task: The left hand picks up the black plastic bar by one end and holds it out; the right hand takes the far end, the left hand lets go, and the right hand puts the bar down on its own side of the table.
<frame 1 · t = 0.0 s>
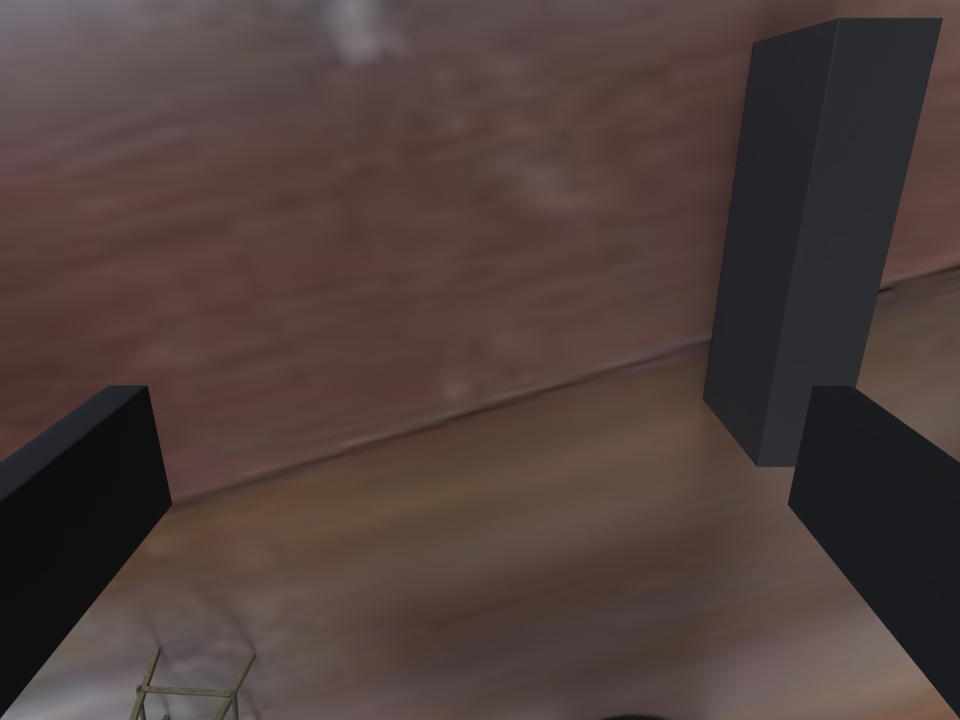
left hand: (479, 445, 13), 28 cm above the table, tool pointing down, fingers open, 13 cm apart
miniature windmill: (210, 684, 52), on the table
bar: (761, 239, 39), on the table
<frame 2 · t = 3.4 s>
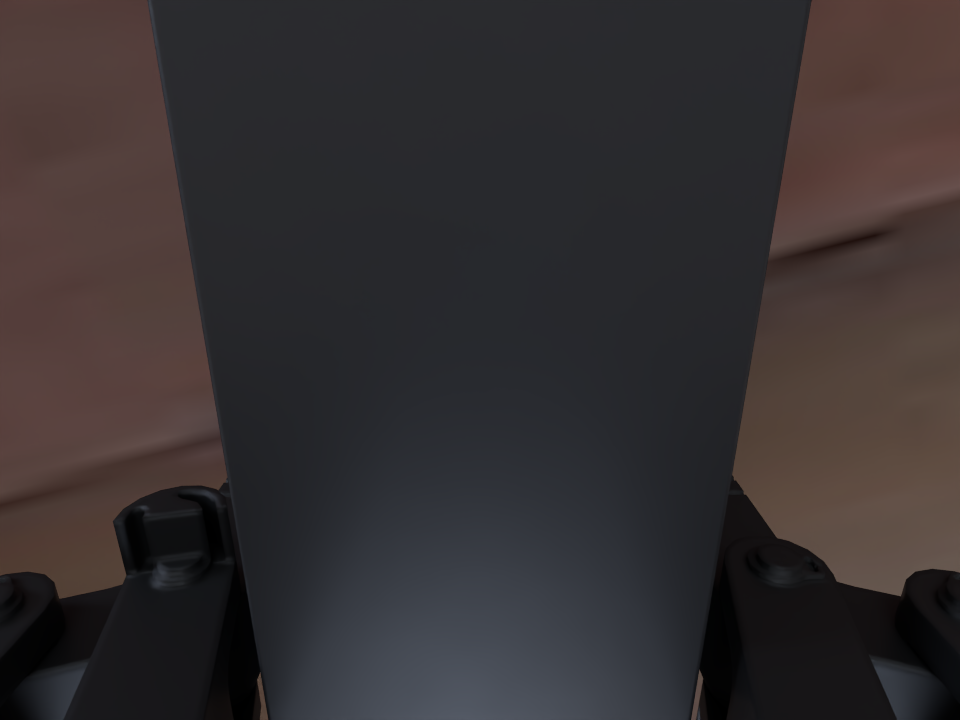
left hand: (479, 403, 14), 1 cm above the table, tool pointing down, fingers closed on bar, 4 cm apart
bar: (479, 74, 12), on the table, touching left hand
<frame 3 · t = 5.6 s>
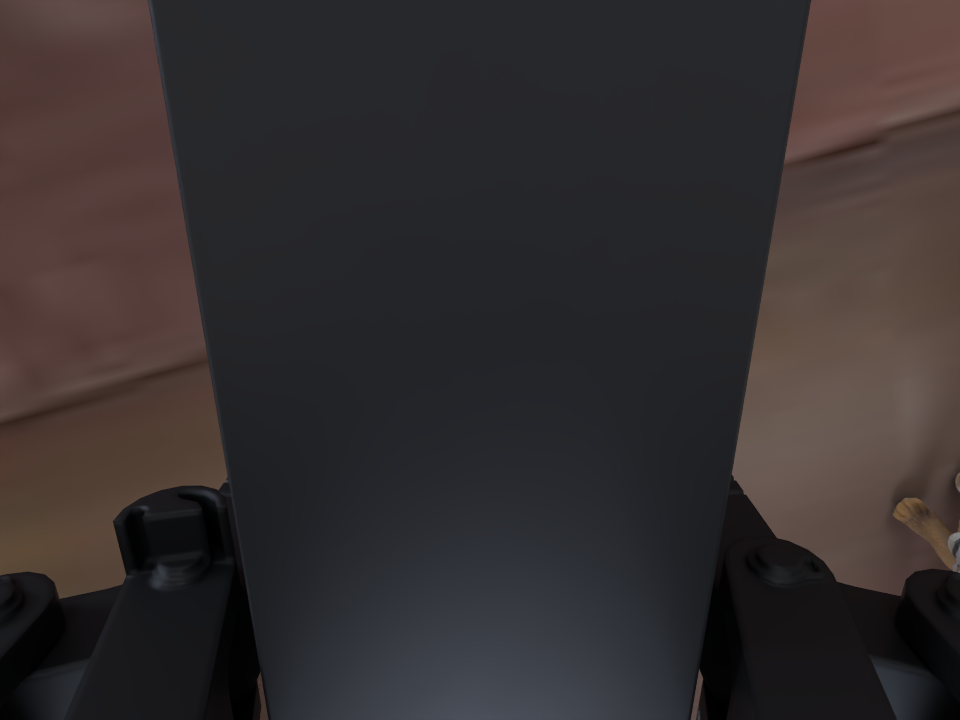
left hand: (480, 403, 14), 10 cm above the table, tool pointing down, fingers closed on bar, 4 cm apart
lion figurine: (927, 545, 27), on the table
bar: (479, 73, 12), point 9 cm above the table, touching left hand
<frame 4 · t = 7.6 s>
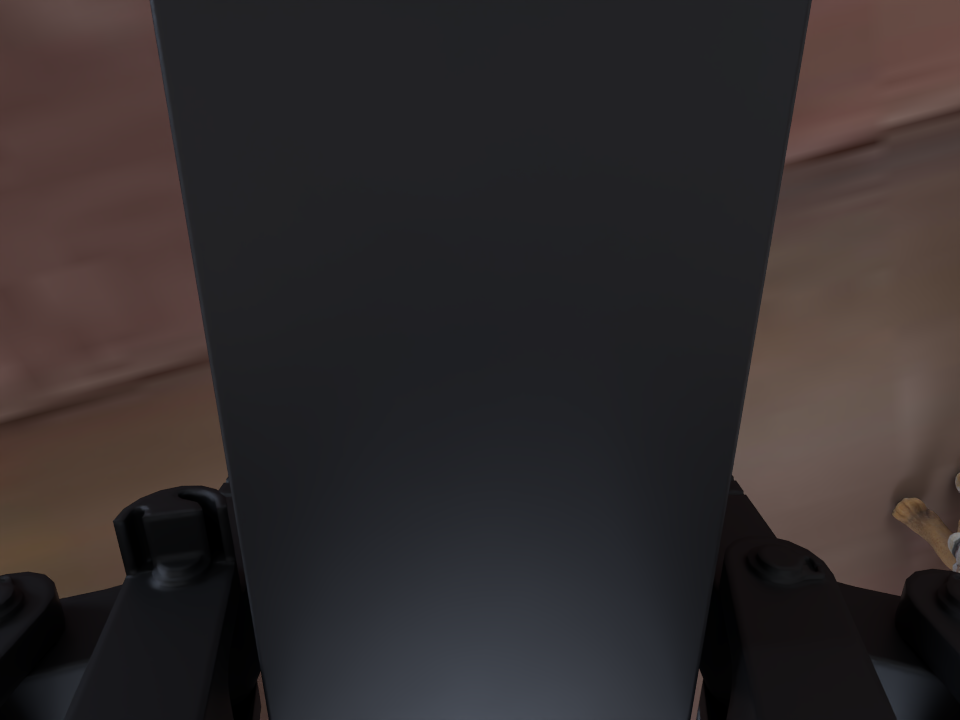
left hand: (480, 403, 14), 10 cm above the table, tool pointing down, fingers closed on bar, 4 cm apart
lion figurine: (927, 545, 27), on the table
bar: (480, 73, 12), point 9 cm above the table, touching left hand, right hand
when the left hand's fingers open (10 cm above the table, at t = 8.2 s): bar stays where it is, held by the right hand.
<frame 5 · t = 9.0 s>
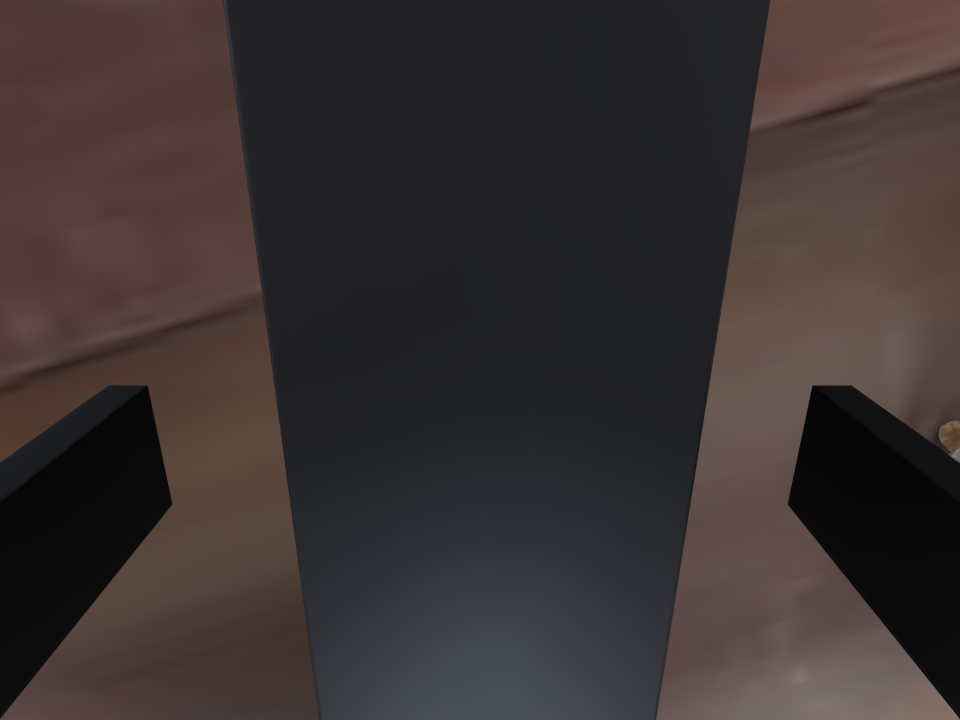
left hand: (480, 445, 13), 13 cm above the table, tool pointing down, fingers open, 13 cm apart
lion figurine: (912, 496, 29), on the table
bar: (488, 2, 13), point 10 cm above the table, touching right hand
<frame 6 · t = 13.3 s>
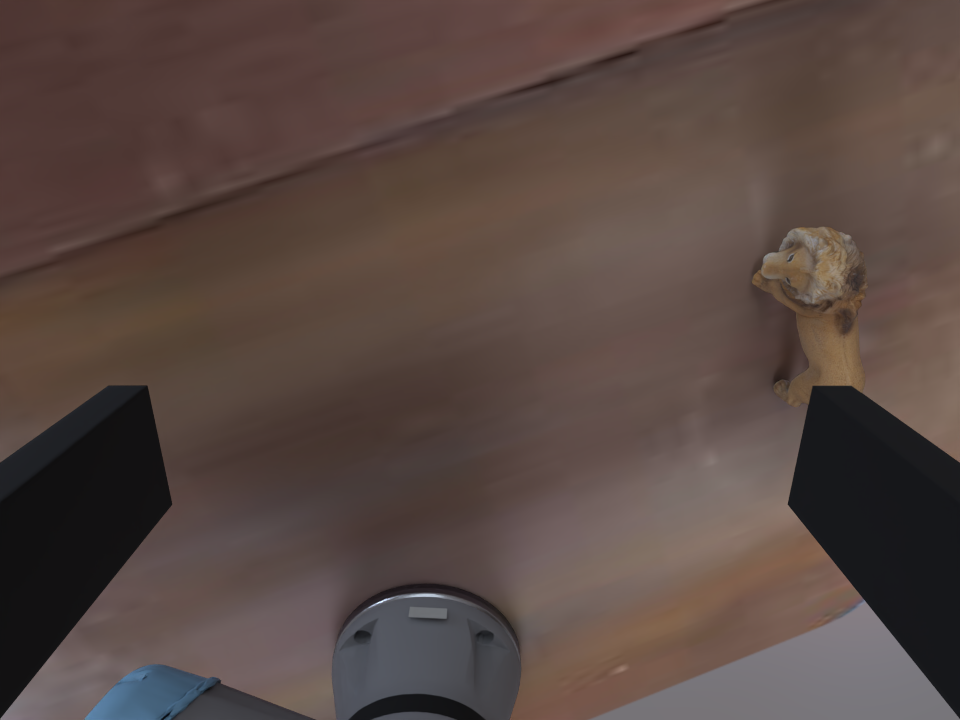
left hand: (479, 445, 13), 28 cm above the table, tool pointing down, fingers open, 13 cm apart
lion figurine: (778, 308, 41), on the table
when the right hand's fingers open (2 cm above the table, at t = 19.3 s): bar drops 2 cm, on the table.
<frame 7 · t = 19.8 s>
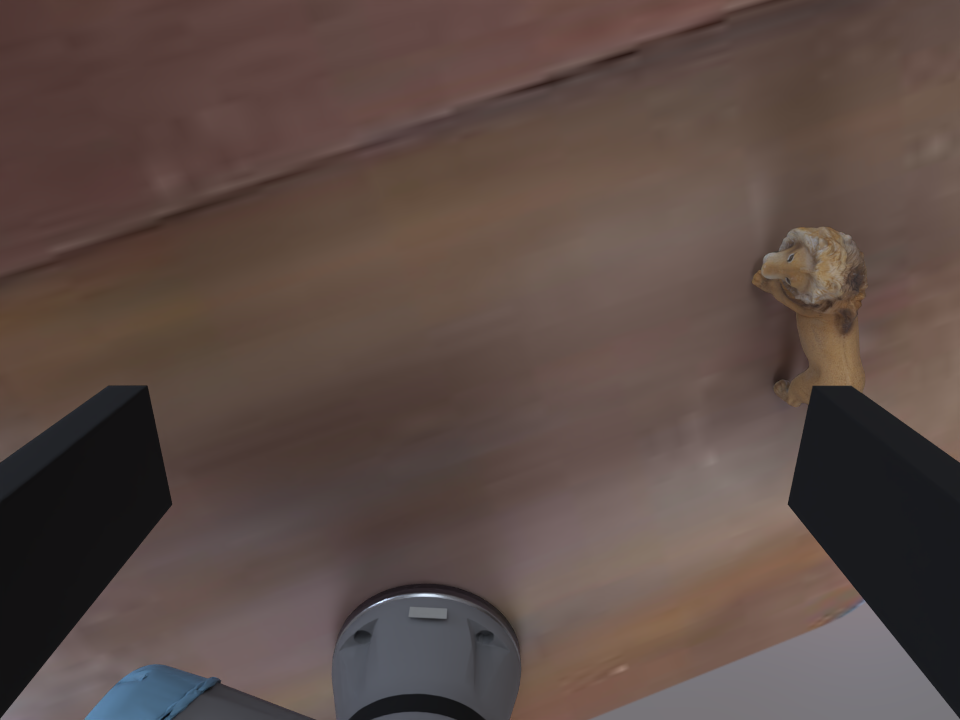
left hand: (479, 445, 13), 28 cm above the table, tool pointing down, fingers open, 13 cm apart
lion figurine: (778, 308, 41), on the table
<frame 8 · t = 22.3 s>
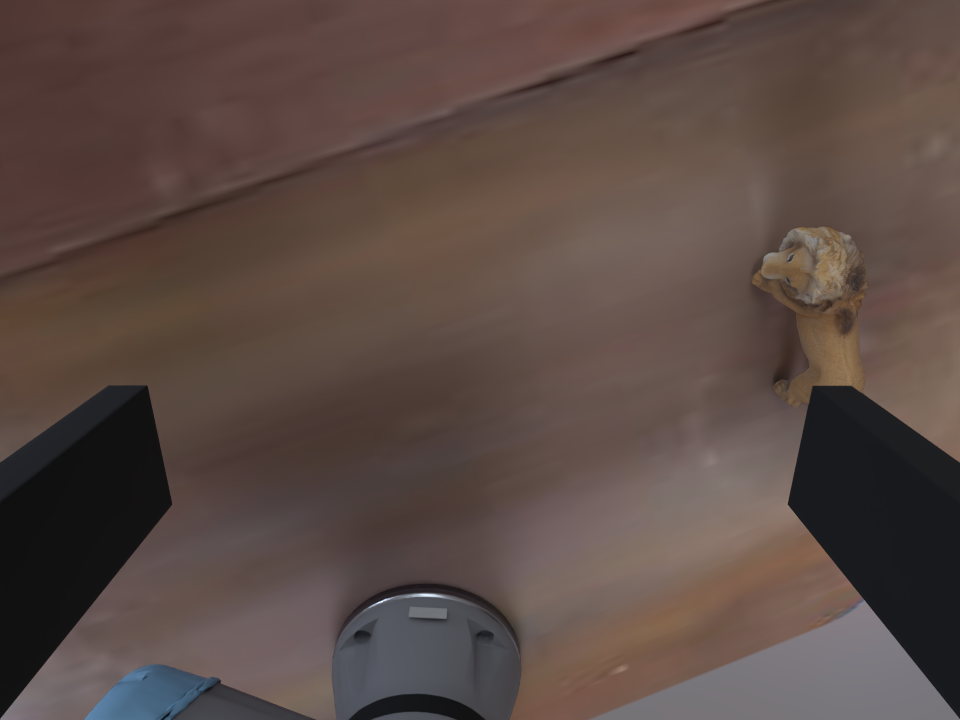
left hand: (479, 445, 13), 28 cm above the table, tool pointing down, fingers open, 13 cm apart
lion figurine: (778, 308, 41), on the table
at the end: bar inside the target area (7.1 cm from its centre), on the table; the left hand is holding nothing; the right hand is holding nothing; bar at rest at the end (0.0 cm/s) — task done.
